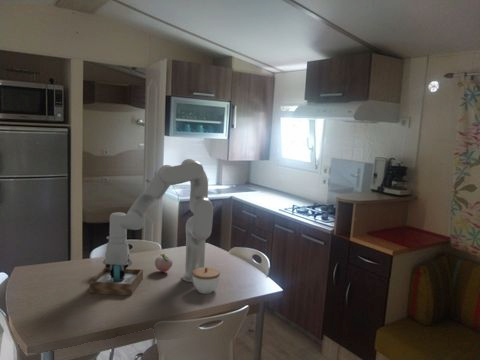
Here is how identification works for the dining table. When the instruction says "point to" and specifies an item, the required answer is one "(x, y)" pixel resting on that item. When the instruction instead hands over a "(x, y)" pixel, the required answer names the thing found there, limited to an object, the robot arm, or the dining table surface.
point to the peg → (116, 273)
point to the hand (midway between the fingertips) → (117, 277)
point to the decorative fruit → (163, 263)
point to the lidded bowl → (205, 279)
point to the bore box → (107, 286)
